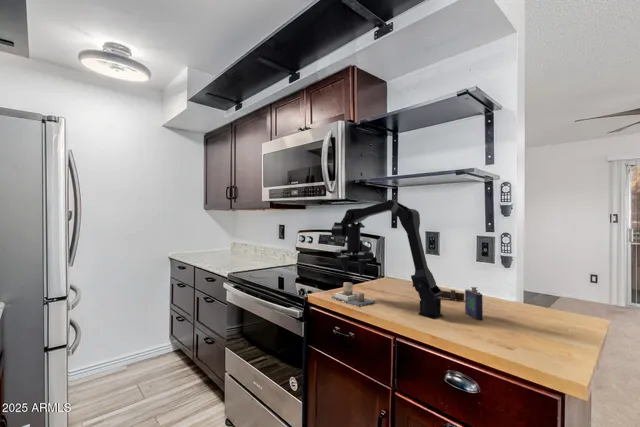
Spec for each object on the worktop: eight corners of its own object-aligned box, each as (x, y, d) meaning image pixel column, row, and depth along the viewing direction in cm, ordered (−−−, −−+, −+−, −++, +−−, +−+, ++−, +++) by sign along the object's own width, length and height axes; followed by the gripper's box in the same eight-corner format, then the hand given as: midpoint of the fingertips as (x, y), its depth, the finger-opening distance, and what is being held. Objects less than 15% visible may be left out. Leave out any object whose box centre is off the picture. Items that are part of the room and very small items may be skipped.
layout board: (375, 303, 128) (375, 293, 128) (357, 306, 122) (358, 297, 122) (348, 295, 141) (348, 286, 141) (331, 298, 135) (331, 289, 135)
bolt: (463, 306, 134) (427, 300, 140) (463, 298, 138) (428, 293, 144) (464, 295, 131) (427, 291, 137) (464, 288, 136) (428, 283, 141)
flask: (463, 312, 117) (463, 284, 117) (471, 312, 117) (471, 284, 117) (477, 320, 108) (477, 289, 108) (485, 320, 108) (485, 289, 108)
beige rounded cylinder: (354, 297, 134) (354, 283, 134) (347, 298, 131) (348, 284, 132) (347, 295, 137) (348, 281, 137) (341, 296, 134) (341, 282, 135)
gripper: (382, 238, 133) (382, 275, 132) (351, 237, 147) (351, 270, 147) (364, 239, 126) (364, 278, 125) (334, 237, 140) (333, 272, 140)
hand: (353, 274), depth 134 cm, fingers open, 9 cm apart
